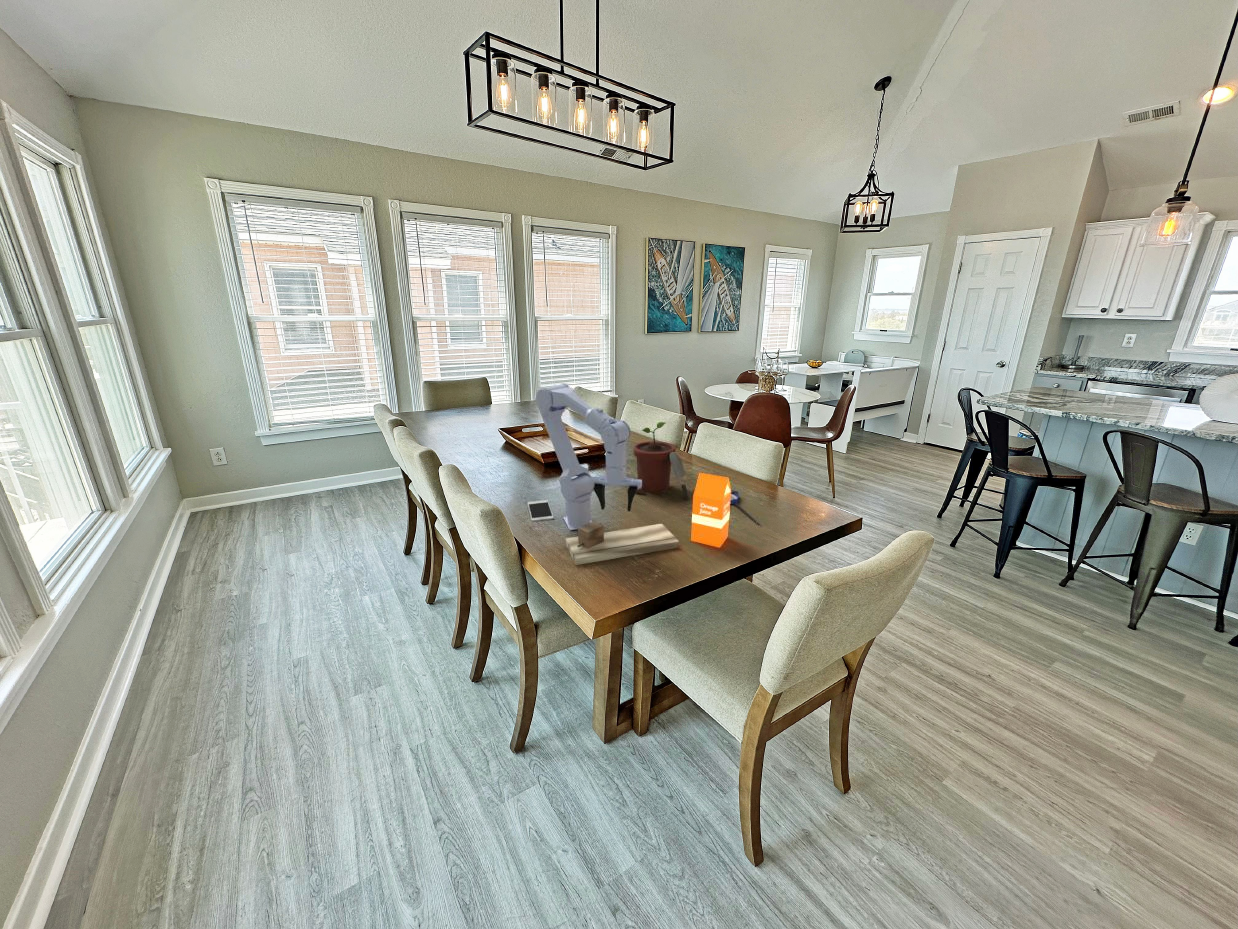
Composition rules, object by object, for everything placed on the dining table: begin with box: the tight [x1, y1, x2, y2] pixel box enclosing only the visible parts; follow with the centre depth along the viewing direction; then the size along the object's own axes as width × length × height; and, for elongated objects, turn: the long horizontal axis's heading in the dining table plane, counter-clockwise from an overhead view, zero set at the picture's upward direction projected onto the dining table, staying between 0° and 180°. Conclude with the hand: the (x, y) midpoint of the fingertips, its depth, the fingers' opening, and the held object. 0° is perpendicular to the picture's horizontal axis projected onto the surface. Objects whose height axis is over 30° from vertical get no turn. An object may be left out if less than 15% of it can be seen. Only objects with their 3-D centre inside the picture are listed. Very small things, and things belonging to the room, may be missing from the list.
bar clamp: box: [730, 489, 762, 527], centre depth 159 cm, size 32×2×10 cm
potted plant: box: [632, 421, 689, 500], centre depth 174 cm, size 18×22×25 cm
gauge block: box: [577, 520, 605, 549], centre depth 133 cm, size 8×4×5 cm, turn 135°
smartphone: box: [527, 499, 555, 522], centre depth 160 cm, size 7×15×1 cm, turn 15°
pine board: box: [565, 523, 680, 566], centre depth 137 cm, size 12×30×2 cm, turn 109°
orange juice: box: [690, 472, 732, 548], centre depth 138 cm, size 8×9×20 cm
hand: (616, 509), depth 138 cm, fingers open, 7 cm apart
